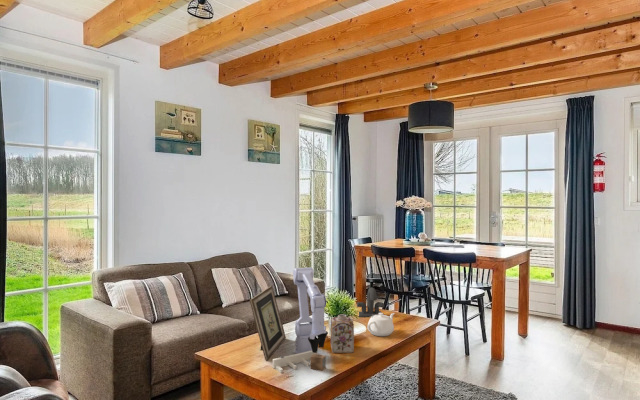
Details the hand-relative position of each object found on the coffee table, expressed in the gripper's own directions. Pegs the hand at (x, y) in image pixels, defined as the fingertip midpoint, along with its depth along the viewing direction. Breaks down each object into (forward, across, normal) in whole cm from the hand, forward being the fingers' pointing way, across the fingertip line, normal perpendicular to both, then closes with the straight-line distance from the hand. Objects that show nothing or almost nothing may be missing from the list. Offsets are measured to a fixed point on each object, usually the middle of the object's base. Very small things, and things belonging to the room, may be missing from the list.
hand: (318, 349), depth 201 cm
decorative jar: (+9, +28, -1) cm, 30 cm away
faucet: (+9, +92, +1) cm, 93 cm away
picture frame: (+9, +13, +35) cm, 38 cm away
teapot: (+9, +62, -14) cm, 64 cm away
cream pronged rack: (+9, 0, +10) cm, 14 cm away
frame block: (+9, 0, 0) cm, 9 cm away
